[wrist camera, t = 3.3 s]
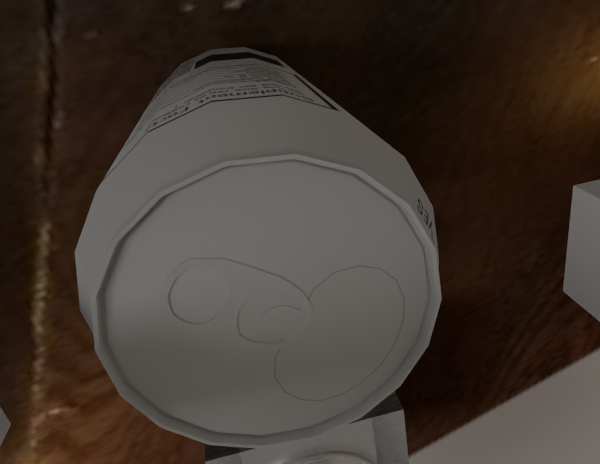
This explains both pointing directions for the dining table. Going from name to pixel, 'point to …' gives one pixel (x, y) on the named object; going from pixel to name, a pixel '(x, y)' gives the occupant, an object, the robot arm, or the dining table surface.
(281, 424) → the supplement can
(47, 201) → the dining table surface
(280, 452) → the gauge housing
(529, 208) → the dining table surface
